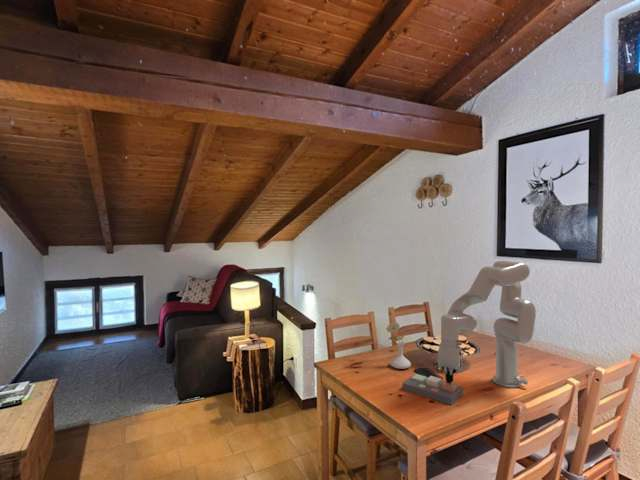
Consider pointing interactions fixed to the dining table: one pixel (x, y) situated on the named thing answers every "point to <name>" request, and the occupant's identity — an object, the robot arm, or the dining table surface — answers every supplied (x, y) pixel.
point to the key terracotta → (450, 386)
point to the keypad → (432, 391)
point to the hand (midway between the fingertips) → (449, 382)
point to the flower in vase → (399, 359)
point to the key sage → (419, 378)
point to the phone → (426, 372)
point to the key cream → (434, 381)
